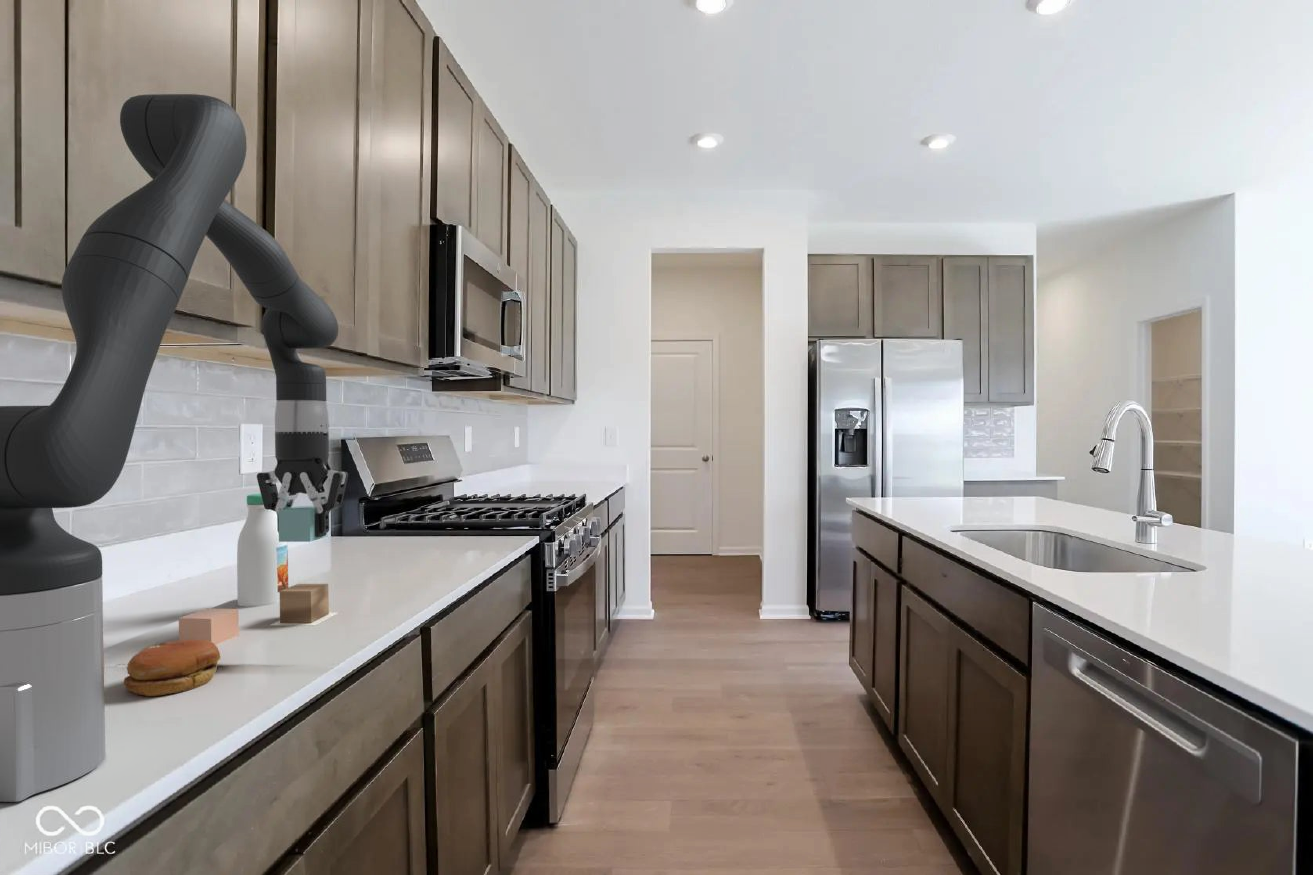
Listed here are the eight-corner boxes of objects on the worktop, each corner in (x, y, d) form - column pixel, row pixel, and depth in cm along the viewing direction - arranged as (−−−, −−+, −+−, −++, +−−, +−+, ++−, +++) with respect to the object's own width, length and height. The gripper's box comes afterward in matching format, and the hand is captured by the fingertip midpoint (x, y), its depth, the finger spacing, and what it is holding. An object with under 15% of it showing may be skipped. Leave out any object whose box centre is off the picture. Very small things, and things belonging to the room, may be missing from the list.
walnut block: (311, 623, 101) (311, 591, 101) (280, 623, 101) (279, 591, 101) (328, 614, 106) (328, 583, 106) (298, 614, 106) (298, 583, 106)
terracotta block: (211, 654, 90) (210, 618, 90) (179, 653, 91) (178, 617, 91) (238, 643, 95) (238, 609, 95) (208, 642, 96) (207, 608, 96)
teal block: (310, 541, 101) (309, 509, 101) (278, 541, 101) (278, 509, 101) (327, 536, 106) (327, 505, 106) (297, 536, 106) (297, 506, 106)
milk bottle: (265, 613, 111) (263, 496, 110) (226, 611, 112) (225, 496, 112) (298, 602, 118) (297, 492, 118) (262, 600, 120) (260, 491, 119)
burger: (177, 700, 75) (176, 660, 75) (103, 698, 76) (102, 658, 76) (239, 669, 85) (238, 633, 85) (173, 668, 86) (172, 632, 86)
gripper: (242, 430, 100) (244, 540, 100) (333, 429, 99) (335, 540, 99) (273, 430, 107) (274, 532, 107) (358, 429, 107) (359, 532, 107)
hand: (303, 535), depth 103 cm, fingers closed on teal block, 5 cm apart
